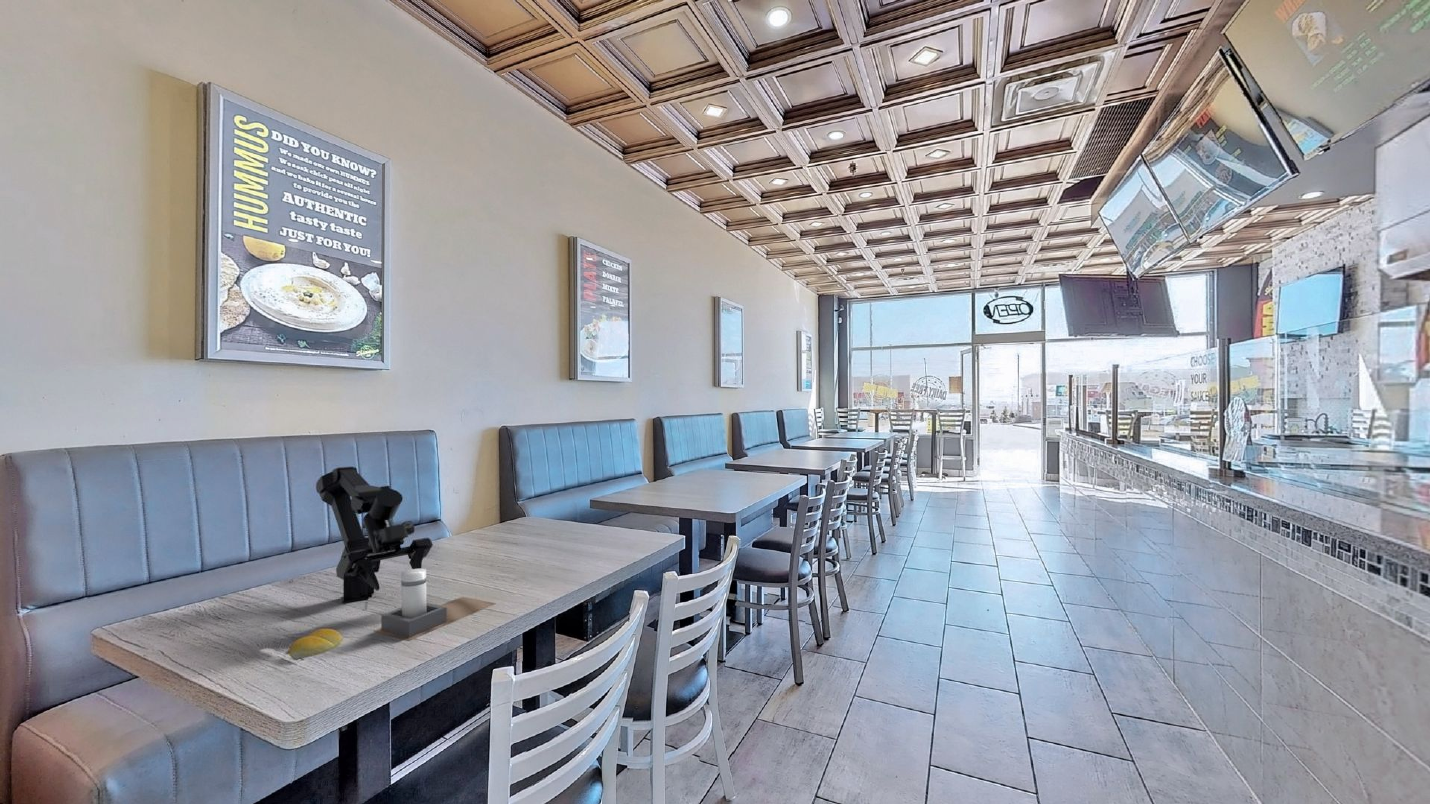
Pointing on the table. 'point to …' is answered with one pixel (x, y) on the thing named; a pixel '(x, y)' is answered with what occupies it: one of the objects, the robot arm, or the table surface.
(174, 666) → the table surface
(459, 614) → the board
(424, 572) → the white capped cylinder
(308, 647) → the bread roll
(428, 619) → the socket collar
